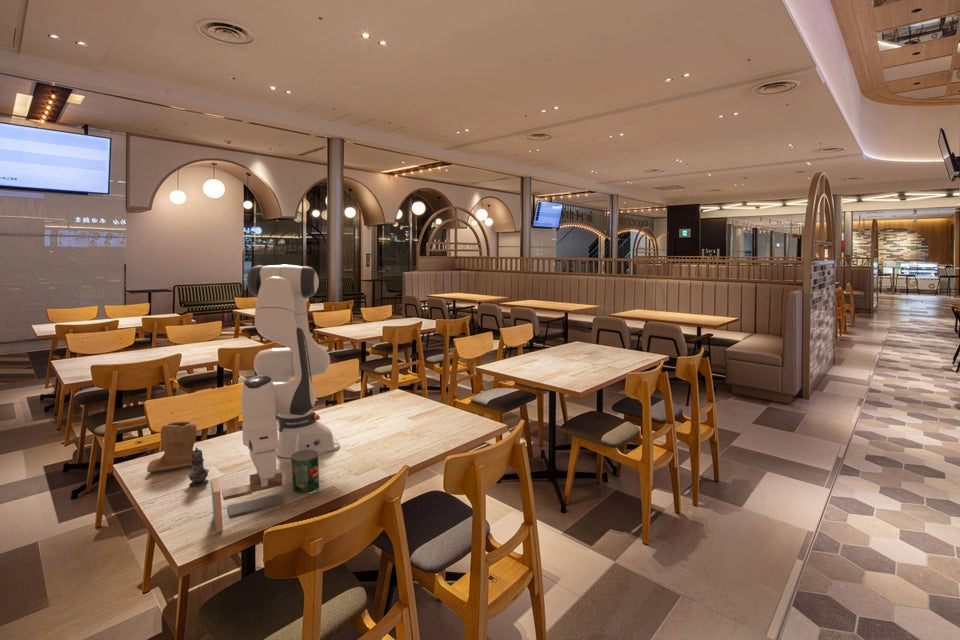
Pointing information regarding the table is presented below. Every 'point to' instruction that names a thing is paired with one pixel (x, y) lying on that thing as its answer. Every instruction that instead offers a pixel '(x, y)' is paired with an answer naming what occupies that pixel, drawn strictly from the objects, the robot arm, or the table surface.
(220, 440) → the table surface
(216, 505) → the tile
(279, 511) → the table surface
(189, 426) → the tan suede boot
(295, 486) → the canned tomato
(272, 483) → the wooden l-shaped bracket
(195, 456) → the dark grey stupa figurine
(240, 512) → the grey flat slab
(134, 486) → the table surface
